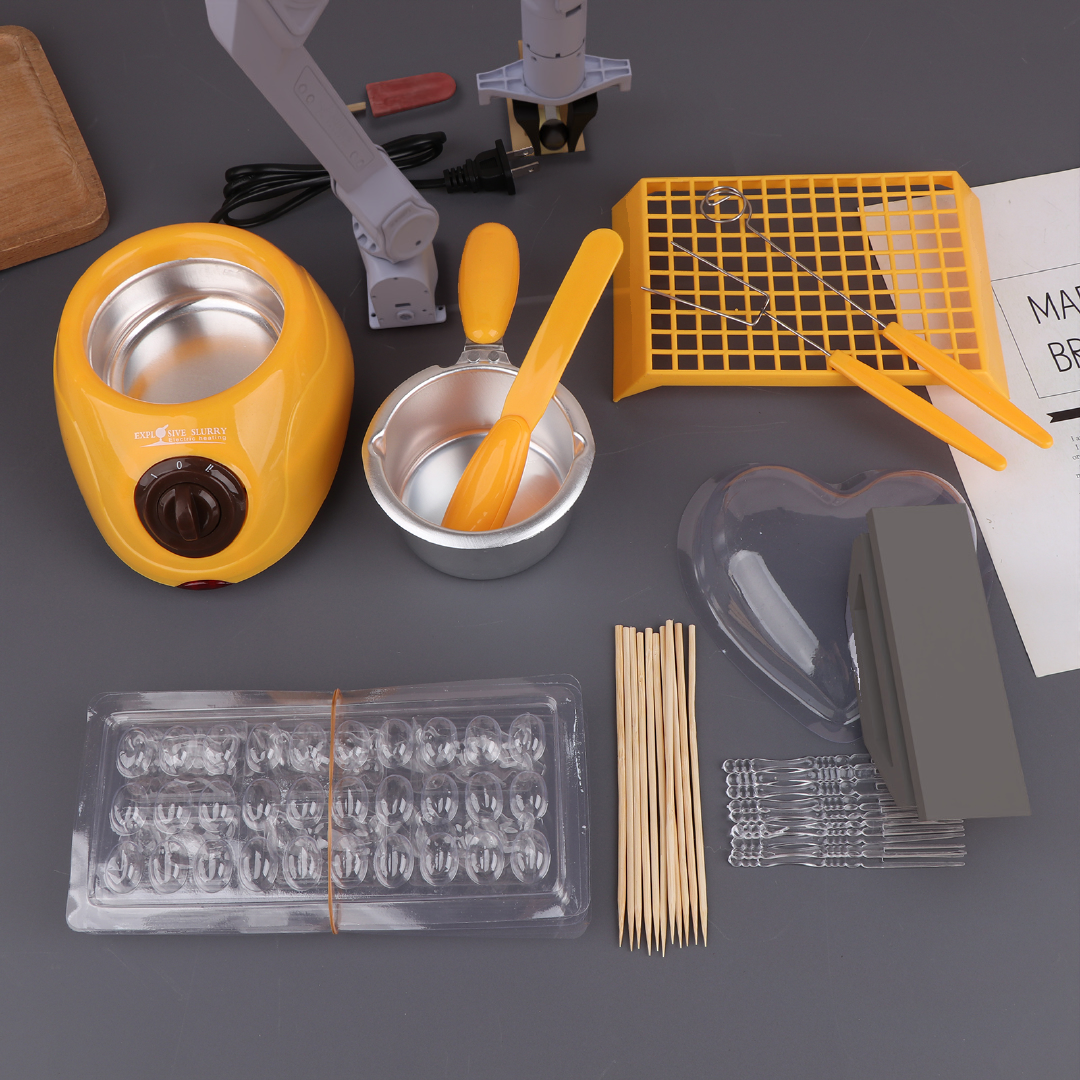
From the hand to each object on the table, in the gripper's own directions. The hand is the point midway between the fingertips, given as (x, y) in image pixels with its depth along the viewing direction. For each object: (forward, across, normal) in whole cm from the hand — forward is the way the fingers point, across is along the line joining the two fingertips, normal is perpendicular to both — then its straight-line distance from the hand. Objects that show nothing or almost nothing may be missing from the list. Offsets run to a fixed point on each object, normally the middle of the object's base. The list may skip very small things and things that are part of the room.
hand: (554, 146), depth 92 cm
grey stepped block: (+7, -25, +57) cm, 63 cm away
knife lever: (0, 0, -4) cm, 4 cm away
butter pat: (+5, 0, -6) cm, 8 cm away
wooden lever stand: (+7, 0, -9) cm, 11 cm away
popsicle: (+7, +17, -14) cm, 23 cm away
